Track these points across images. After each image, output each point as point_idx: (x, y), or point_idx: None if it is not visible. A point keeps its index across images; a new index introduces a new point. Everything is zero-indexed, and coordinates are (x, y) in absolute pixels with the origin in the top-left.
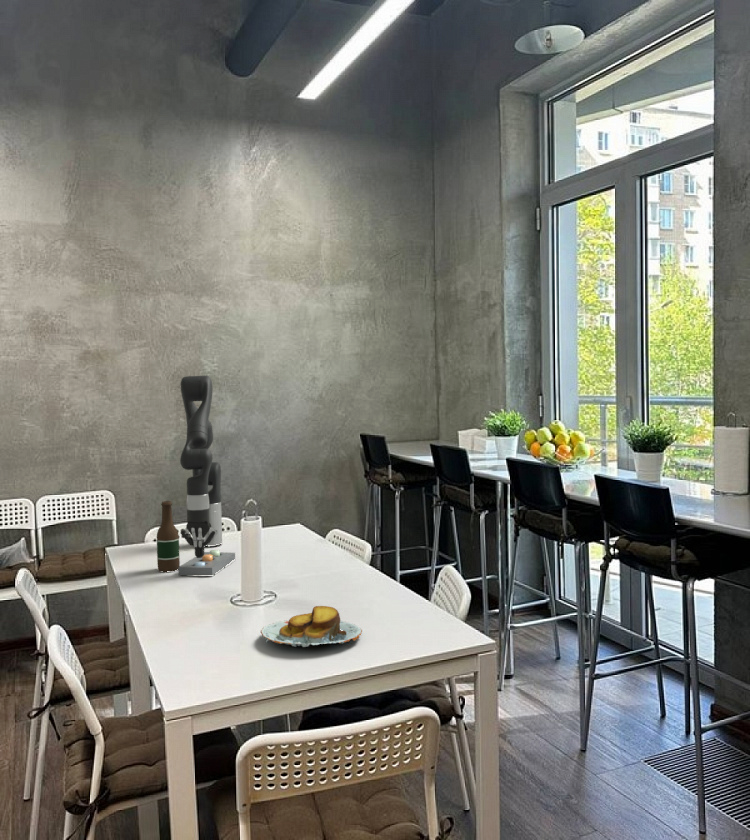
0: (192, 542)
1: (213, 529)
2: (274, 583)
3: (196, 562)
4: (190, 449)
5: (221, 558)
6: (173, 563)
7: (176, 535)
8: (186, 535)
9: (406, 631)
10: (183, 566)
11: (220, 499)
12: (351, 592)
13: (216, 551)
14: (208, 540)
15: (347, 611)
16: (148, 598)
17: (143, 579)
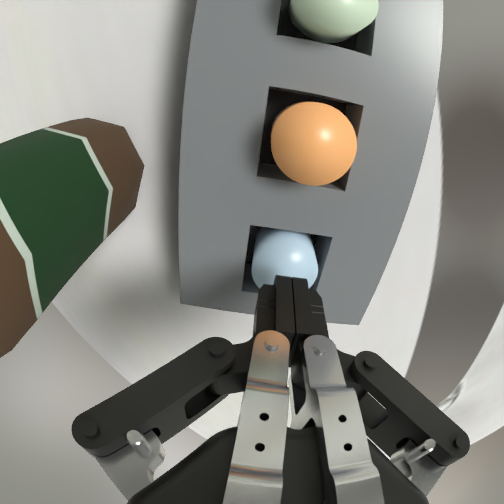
0: (228, 390)
1: (438, 476)
2: (489, 345)
3: (261, 260)
4: None
5: (402, 116)
6: (116, 225)
7: (6, 307)
8: (163, 442)
9: (488, 427)
10: (202, 296)
11: None
12: None
13: (358, 12)
14: (375, 419)
15: (487, 413)
16: (211, 422)
17: (93, 304)
